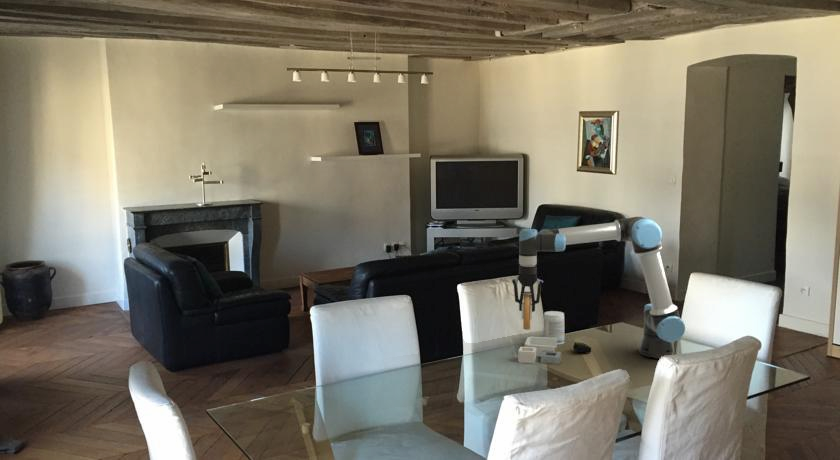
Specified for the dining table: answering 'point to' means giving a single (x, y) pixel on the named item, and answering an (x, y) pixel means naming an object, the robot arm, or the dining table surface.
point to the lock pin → (526, 310)
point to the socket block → (527, 355)
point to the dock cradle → (541, 344)
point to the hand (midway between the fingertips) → (527, 318)
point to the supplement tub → (554, 325)
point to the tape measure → (582, 347)
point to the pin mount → (551, 357)
